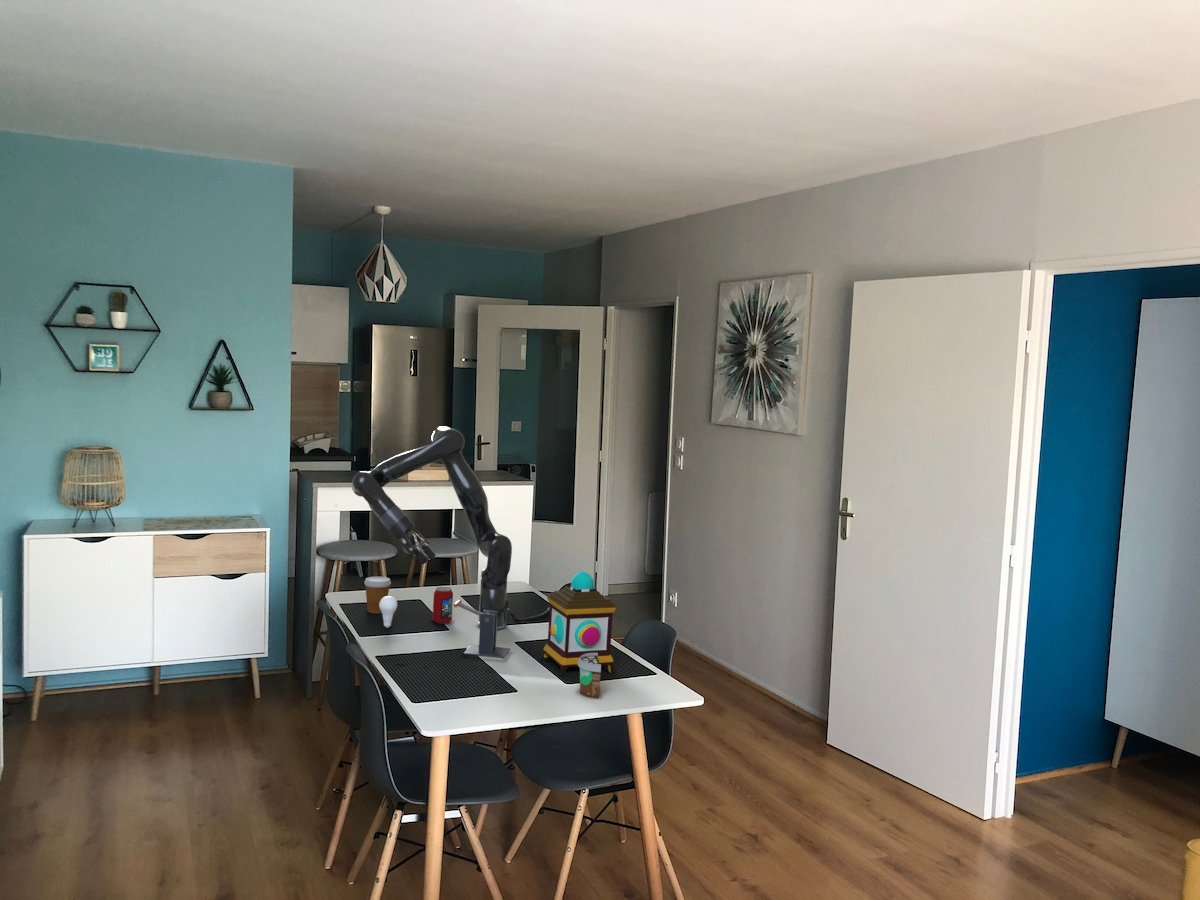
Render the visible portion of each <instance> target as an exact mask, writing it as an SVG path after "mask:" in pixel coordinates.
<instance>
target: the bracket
mask: <svg viewBox="0 0 1200 900" xmlns="http://www.w3.org/2000/svg"><path fill="white" fill-rule="evenodd" d="M487 612H488V613H490V614H487ZM497 617H498V611H490V610H484V613H481V618H480V627H479V637H478V644H472V643H471V644H470V645H469V646H468V647H467V648H466V650H465V651H463V652H462V653H463V655H466V656H476V657H488V658H497V659H505V658H506V656H507V655H508V654H509V652H510V651H511V647H504V646H503V647H501V646H497V633H498V629H497Z"/></svg>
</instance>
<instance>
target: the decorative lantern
mask: <svg viewBox="0 0 1200 900" xmlns="http://www.w3.org/2000/svg"><path fill="white" fill-rule="evenodd" d="M594 584H595V583H594V579H593V577H592V576H591V574H589V573H588V572H587V571H584V570H583V571H578V572H577V573H576V574H575V575H574V576H573V577H572V578H571V583H570V584H567V586H565V587H564V588H562V589H560V590H554V591H553V592H551V593H549V594H548V595H546V599H547V601H548V604H549V607H550V611H549V612H548V632H547V642H546V643H545V646H544V647H543V650H542V658H544V659H548V658H550V659H551V660H552V661H554V662H555V664H557V665H558V666H559V669H560V673H561V674H566V672H567V669H568V668H576V667H577V668H578V667H579V666H578V661H579V658H580V656H581V655H583V654H587V653H598V660H599V664H601V666H605V665H606V666H607V671H608V673H611V674H612V673H613V672H614V669H615V661H614V658H613V656H612V654H611V647H612V633H613V617H614V613H615V612H616V610H617V605H615V602H613V601H612V600H611V599H610V598H608V597H607V596H605V595H603V594H602V593H600V591H598V588H597V587H594V586H595V585H594Z"/></svg>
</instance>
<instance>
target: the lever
mask: <svg viewBox="0 0 1200 900" xmlns="http://www.w3.org/2000/svg"><path fill="white" fill-rule="evenodd" d="M462 602H463V601H462V600H461V599H458V600H457V601H456V602H455V603H453V607H454V608H458V607H460V608H461V609H464V610H466V611H468V612H470V613H473V614H475V615H477V616H478V617H479V616H481V613H482V612H480V611H479V610H477V609H475V608H473V607H471V606H469V605H466V604H464V603H462ZM487 614H490V613H488V612H487Z"/></svg>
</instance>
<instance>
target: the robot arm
mask: <svg viewBox="0 0 1200 900" xmlns="http://www.w3.org/2000/svg"><path fill="white" fill-rule="evenodd" d="M465 444H466V443H465V437H464V434H462V433H461V431H459V430H457V429H455V428H452V427H449V426H438V427H437V428H436V429H435V430H434V431H433V433H432V435H431V442H430V443H427V444H426V445H424V446H420V447H418V448H416V449H413V450H410V451H409V450H408V451H405V452H402V453H399V454H397V455H395V456H393V457H390V458H389V459H387V460H384V461H383V462H381V463H379V464H378V465H377V466H376V467H375V468H374V469H372V470H370V471H366V470H365V471H359V472H357V473H356V474H355V475H354V476H353V478H352V481H351V489H352V490H351V491H352V492H353V493H354V494H355V495H356V496H357V497H361V498H363V499H364V500H365V501H366V502H367V504H368V507H369V508H370V511H372V513H373V514H374V515H375V516H376V517H377V518H378V519H379V521H380V522H381V524H382V525H383V526H384V528H385V529H386V530H387V531H388V532H389V533H390V535H391V536H392V537H393V538H394V539H395V540H396V541H399V542H400V545H402V547H403V548H404V549H405V550H406V552H407V554H408V553H409V555H410V556H413V557H416V558H417V559H418V561H419V562H420V563H421V564H422V565H425V564H426V563H428V561H429V560H433V559H434V558H435V557H436V553H435V552H434V551H433V550H432V549H431V547H430V542H429V541H428V540H427V539H426V538H425V536H423V534H422V533H421V532H420V531H419V530H415V531H414V530H413V529H414V528H415V523H414V522H413V521H412V519H410V518H409V517H408V515H407V514H406V513H405V512H404V510H403V509H402V508H400V507H399V506H398V505H397V504H396V503H395V502H394V500H393V499H392V498H391V497H390V496H389V495H388V494H387V493H386V491H385V490H384V488H383V487H385V486H386V485H388V484H390V483H393V482H394V481H396V480H397V481H398V479H400V478H403V477H404V476H406V475H408V474H410V473H412V472H414V471H416V470H419V469H420V468H423V467H425V466H428V465H429V464H433V463H435V462H437V461H441V463H442V464H443V466H444V468H445V470H446V473H447V475H448V478H449V480H450V483H451V485H452V487H453V490H454V492H455V495H456V497H457V499H458V501H459V504H460V506H461V508H462V509H463V511H464V515H465V516H466V518H467V520H468V522H469V524H470V526H471V528H472V531H473V534H474V537H475V540H476V543H477V546H478V549H479V552H480V553H481V554H482V555H483V556H484V557H485V558H487V562H486V567H485V568H483V569H482V570H481V574H480V591H479V607H478V611H480V612H482V613H484V610H490V611H498V617H497V630H503V629H504V628H505V627H507V625H508V618H510V617H511V618H512V619H513V620H514V621H516V622H517V621H518V622H521V621H530V620H535V619H539V618H542V617H545V616H546V615H547V614H549V612H550V606H549V607H548V608H547V609H546V610H545V611H544V612H542V613H540V614H537V615H533V616H530V617H524V618H523V617H522V618H520V617H516V616H515V614H514V613H513V612H512V611H511V608H509V600H508V598H507V592H508V590H507V589H508V575H509V573H510V571H511V565H512V553H513V545H512V544H513V543H512V541H511V540H510V538H509V537H508V536H506V535H504V534H501V533H499V532H498V531H497V530H496V528H495V526H494V524H493V522H492V520H491V518H490V513H489V500H488V497H487V494H486V491H485V489H484V487H483V485H482V483H481V481H480V479H479V478H478V476H477V475H476V473H475V472H474V471H473V469H472V468H471V466H470V465H469V464H468V462H467V461H466V459H465V457H464V456H463V452H462V450H463V449H464V447H465ZM480 618H481V616H479V615H478V623H477V626H478V628H480Z"/></svg>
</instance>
